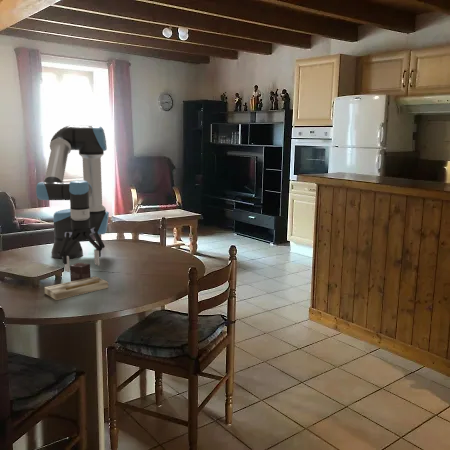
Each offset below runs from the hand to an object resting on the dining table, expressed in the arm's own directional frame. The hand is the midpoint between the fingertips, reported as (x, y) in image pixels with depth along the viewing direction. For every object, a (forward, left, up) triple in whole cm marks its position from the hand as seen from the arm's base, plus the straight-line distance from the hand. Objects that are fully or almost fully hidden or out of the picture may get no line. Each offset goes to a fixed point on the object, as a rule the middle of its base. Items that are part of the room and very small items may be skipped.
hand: (82, 267), depth 200 cm
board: (+9, -7, -6) cm, 13 cm away
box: (-1, -1, -6) cm, 6 cm away
